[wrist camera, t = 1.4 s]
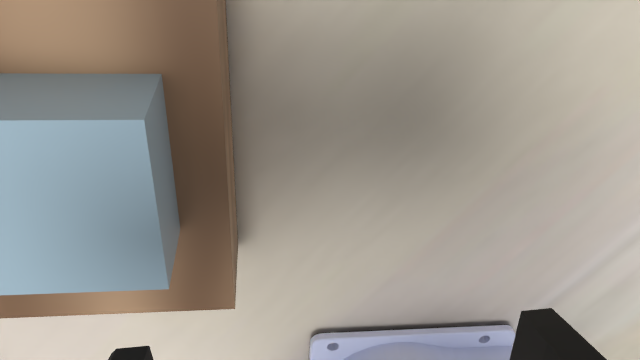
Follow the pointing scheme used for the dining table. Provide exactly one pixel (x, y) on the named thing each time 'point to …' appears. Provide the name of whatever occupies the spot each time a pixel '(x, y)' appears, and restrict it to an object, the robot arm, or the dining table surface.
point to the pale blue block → (85, 184)
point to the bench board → (183, 125)
